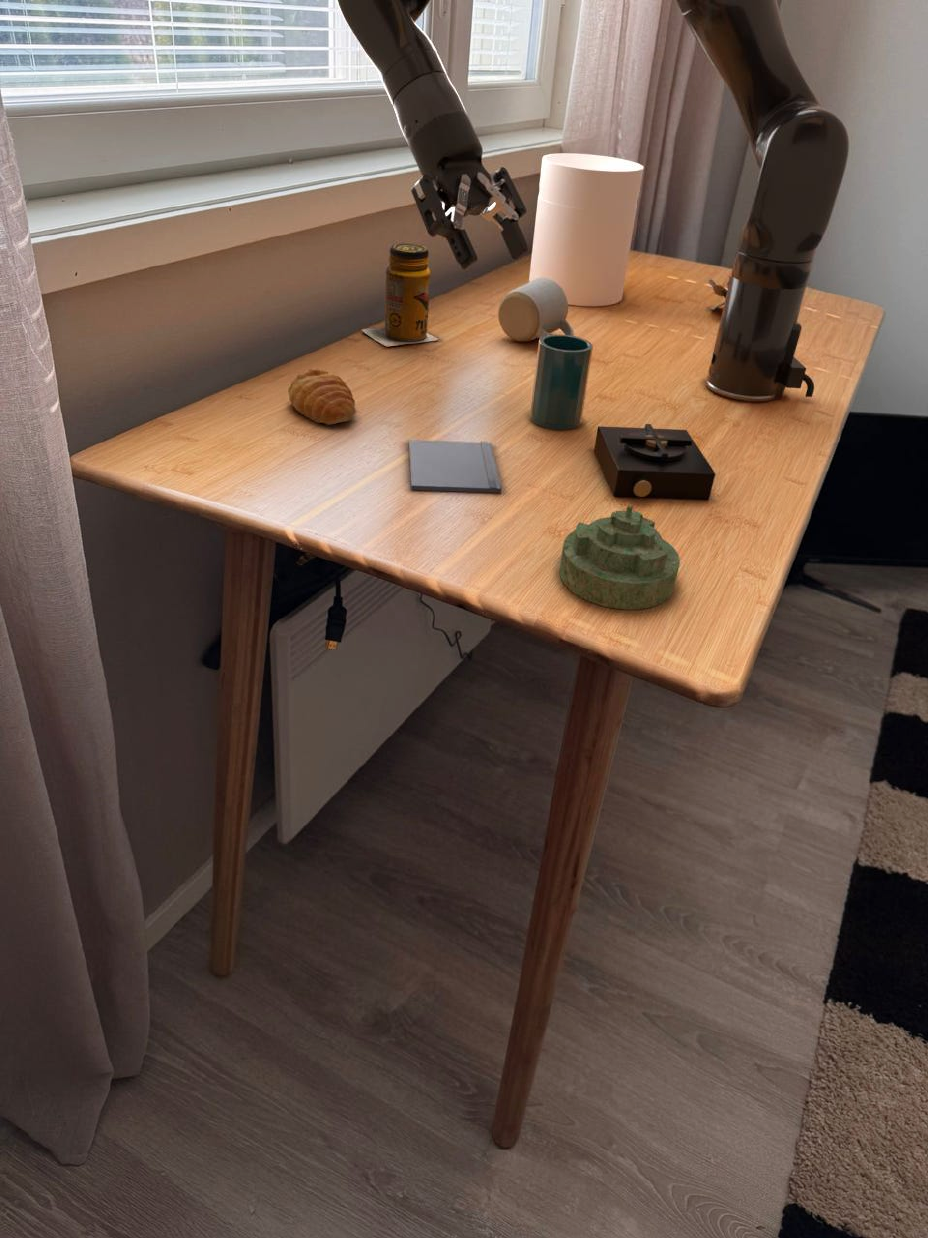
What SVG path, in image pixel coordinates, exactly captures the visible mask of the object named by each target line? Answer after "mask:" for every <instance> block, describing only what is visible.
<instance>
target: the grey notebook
mask: <svg viewBox="0 0 928 1238" xmlns="http://www.w3.org/2000/svg"><path fill="white" fill-rule="evenodd" d="M408 457H409V458H408V459H409V475H410V490H411V491H426V492H427V491H429V492H430V491H431V492H457V493H459V492H461V493H485V494H486V493H487V494H488V493H489V494H490V493H491V494H501V493H502V487H501V482H500V477H499V473H498V468H497V464H496V460H495V454H494V451H493V446H492V443H491V442H487V441H480V442H471V441H470V442H468V441H449V440H448V441H443V440H421V439H408Z"/></svg>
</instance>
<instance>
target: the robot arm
mask: <svg viewBox="0 0 928 1238" xmlns="http://www.w3.org/2000/svg"><path fill="white" fill-rule="evenodd" d="M431 1H432V0H336V2H337V6H338V9H339V11H340V13H341V15H342V18H343V19H344V21H345V23H346V25H347V26H348V28H349V30H350V32H351V33H352V34H353V36H354V37H355V39H356V41H357V42H358V44H359V45H360V47H361V49H362V50H363V51H364V53H365V55H366V56H367V57H368V59H369V60H370V62H371V63H372V65H373V66H374V67H375V69H376V71H377V73H378V75H379V78H380V80H381V83H382V85H383V88H384V90H385V92H386V94H387V96H388V98H389V101H390V102H391V105H392V107H393V109H394V112H395V115H396V119H397V123H398V125H399V127H400V131H401V133H402V134H403V137H404V139H405V141H406V144H407V146H408V148H409V150H410V153H411V154H412V157H413V159H414V161H415V164H416V166H417V168H418V170H419V172H420V174H421V177H420V178H419V179H418V181H416V183H415V184H414V185H413V186H412V187H411V189H410V192H411V195H412V197H413V200H414V202H415V205H416V207H417V209H418V211H419V213H420V216H421V219H422V222H423V224H424V226H425V229H426V232H427V233H428V235H429V236H430V237H432V238H435V237H436V236H440V237H442V238H443V240H444V241H447V243H448V245H449V247H450V250H451V252H452V254H453V256H454V258H455V260H456V262H457V264H458V265H460V267H461V269H463V270H466V269H470V268H472V267H473V266H474V265H475V264H476V262H477V261H478V255H477V253H476V251H475V249H474V246H473V244H472V242H471V240H470V238H469V235H468V233H467V231H466V229H463V228H462V227H463V221H464V218H466V217H468V216H474V217H477V216H480V217H481V218H482V219H483V220H484V221H486V222H491V223H493V225H495V226H496V227H498V229H499V230H501V231H500V234H501V237H502V239H503V241H504V244H505V245H506V248H507V250H508V252H509V255H510V256H511V258H512V260H514V261H515V260H520V259H521V258H523V257H524V256H525V255H526V254H527V253H528V251H529V248H528V243H527V240H526V238H525V235H524V234H523V232H522V229H521V226H520V224H519V220H520V219H521V218H522V217H524V216H525V214H527V208H526V206H525V204H524V201H523V199H522V197H521V196H520V194H519V192H518V189H517V188H516V186H515V184H514V182H513V179H512V178H511V175H510V174H509V171H508V170H507V168H505V167H504V166H501V167H500V168H499V169H497V170H496V171H495V172H491V173H489V171H488V170H487V169H486V168H485V166H484V165H483V153H484V150H483V146H482V144H481V142H480V139H479V136H478V134H477V133H476V131H475V128H474V126H473V123H472V122H471V119H470V117H469V115H468V112H467V110H466V108H465V107H464V104H463V101H462V100H461V98H460V95H459V94H458V92H457V90H456V88H455V86H454V85H453V83H452V82H451V80H450V78H449V76H448V73H447V71H446V69H445V67H444V65H443V62H442V60H441V58H440V56H439V54H438V52H437V50H436V48H435V46H434V44H433V42H432V40H431V39H430V38H429V37H428V35H427V34H426V33H425V32H424V31H423V29H421V28H420V27H419V26H418V25H417V24H416V22H417V21H418V20H419V18H420V17H421V16H422V15H423V13H424V12H425V10H426V9H427V7H428V5H429V4H430V3H431ZM674 2H675V3H676V5H677V8H678V9H679V12H680V13H681V14H682V17H683V19H684V21H685V23H686V24H687V26H688V28H689V29H690V31H691V33H692V34H693V36H694V38H695V40H696V41H697V42H698V45H699V46H700V48H701V49H702V51H703V53H704V54H705V56H706V58H707V59H708V61H709V62H710V63H711V65H712V66H713V68H714V70H715V71H716V72H717V74H718V75H719V76H720V78H721V79H722V81H723V83H724V84H725V85H726V87H727V89H728V91H729V93H730V95H731V97H732V100H733V101H734V103H735V105H736V108H737V111H738V113H739V115H740V118H741V121H742V123H743V125H744V129H745V131H746V134H747V137H748V139H749V142H750V145H751V148H752V152H753V154H754V158H755V161H756V164H757V167H758V169H759V174H758V178H757V182H756V186H755V191H754V195H753V199H752V202H751V206H750V211H749V214H748V217H747V219H746V221H745V223H744V224H743V225H742V228H741V230H740V235H739V238H738V243H737V248H736V250H735V251H736V252H735V256H734V261H733V263H732V269H731V274H730V282H729V286H728V288H727V289H726V290H727V295H726V298H724V301H725V303H724V305H723V309H722V313H721V316H720V321H719V324H718V325H719V326H718V330H717V334H716V337H715V343H714V348H712V350H711V353H710V365H709V367H708V373H707V376H706V380H705V386H706V387H707V388H708V389H709V390H710V391H712V392H714V393H716V394H717V395H720V396H723V397H725V398H729V399H733V400H737V401H744V402H754V403H755V402H758V403H759V402H768V401H771V400H775V399H778V400H779V399H783V396H784V393H785V389H786V388H788V389H801V388H802V384H803V382H804V383H805V384H806V388H807V389H806V392H805V398H813V394H814V391H815V384H814V381H813V379H812V378H811V377H810V376H809V374H806V371H807V368H806V367H805V365H804V364H803V363H802V362H801V361H799V359H797V358H796V357H795V354H796V350H797V346H798V343H799V340H800V336H801V332H802V325H801V324H800V323H799V322H798V319H799V316H800V315H799V314H800V311H801V307H802V304H803V300H804V297H805V293H806V289H807V286H808V282H809V279H810V275H811V271H812V268H813V264H814V261H815V258H816V254H817V252H818V251H817V250H818V248H819V246H820V243H821V242H822V240H823V238H824V237H825V235H826V232H827V231H828V227H829V224H830V222H831V218H832V216H833V212H834V210H835V209H834V208H835V205H836V202H837V198H838V195H839V192H840V189H841V185H842V182H843V178H844V175H845V171H846V169H847V163H848V158H849V153H850V138H849V133H848V130H847V128H846V126H845V124H844V123H843V121H842V120H841V119H840V117H838V116H837V115H836V114H835V113H833V112H832V111H830V110H828V109H826V108H824V106H823V104H821V102H820V101H819V99H818V98H817V97H816V95H815V93H814V92H813V90H812V88H811V87H810V85H809V83H808V82H807V80H806V78H805V76H804V75H803V73H802V71H801V68H799V66H798V64H797V61H796V60H795V58H794V56H793V54H792V51H791V49H790V46H789V43H788V39H787V37H786V34H785V29H784V26H783V21H782V16H781V12H780V7H779V5H778V1H777V0H674ZM491 200H492V201H493V203H492V204H491V206H490V203H491ZM510 202H511V204H512V205H513V208H512V207H511V205H510ZM498 212H501V214H503V216H504V217H502V216H501V215H500V214H499V213H498ZM433 215H434V216H433Z"/></svg>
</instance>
